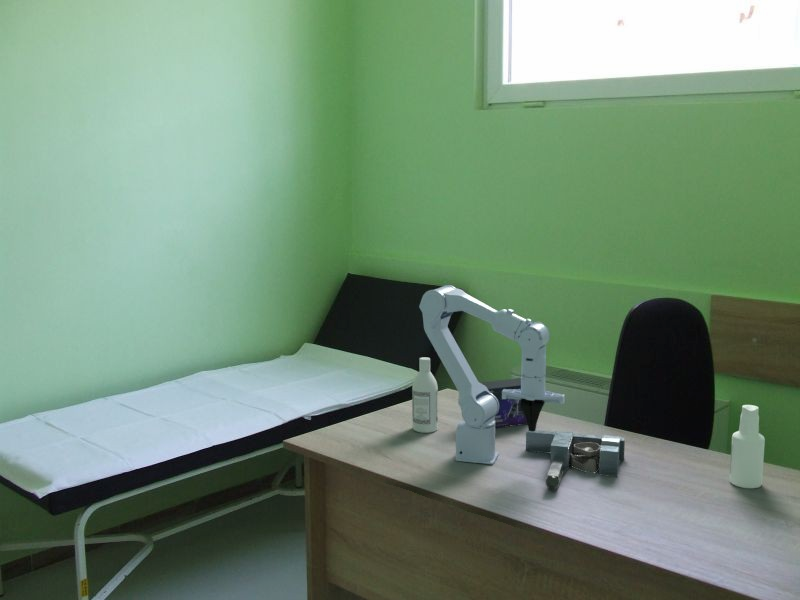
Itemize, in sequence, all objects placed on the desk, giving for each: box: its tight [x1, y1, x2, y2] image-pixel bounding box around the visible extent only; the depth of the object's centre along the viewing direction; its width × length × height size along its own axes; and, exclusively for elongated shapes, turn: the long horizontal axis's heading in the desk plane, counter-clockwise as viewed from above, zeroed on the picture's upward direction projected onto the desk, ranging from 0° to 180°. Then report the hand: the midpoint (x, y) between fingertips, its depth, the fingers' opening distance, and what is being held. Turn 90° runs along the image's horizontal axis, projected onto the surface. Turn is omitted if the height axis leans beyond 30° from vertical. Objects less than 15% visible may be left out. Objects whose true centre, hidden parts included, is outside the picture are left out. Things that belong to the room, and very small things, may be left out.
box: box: [479, 377, 527, 429], centre depth 229 cm, size 17×7×12 cm, turn 111°
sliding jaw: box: [545, 430, 574, 490], centre depth 194 cm, size 4×24×6 cm, turn 163°
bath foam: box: [411, 356, 439, 434], centre depth 225 cm, size 7×7×20 cm
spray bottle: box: [729, 404, 766, 489], centre depth 186 cm, size 7×7×18 cm
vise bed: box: [525, 429, 626, 477], centre depth 201 cm, size 24×13×7 cm, turn 72°
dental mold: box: [569, 442, 601, 473], centre depth 198 cm, size 8×7×5 cm
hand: (532, 430), depth 196 cm, fingers closed
